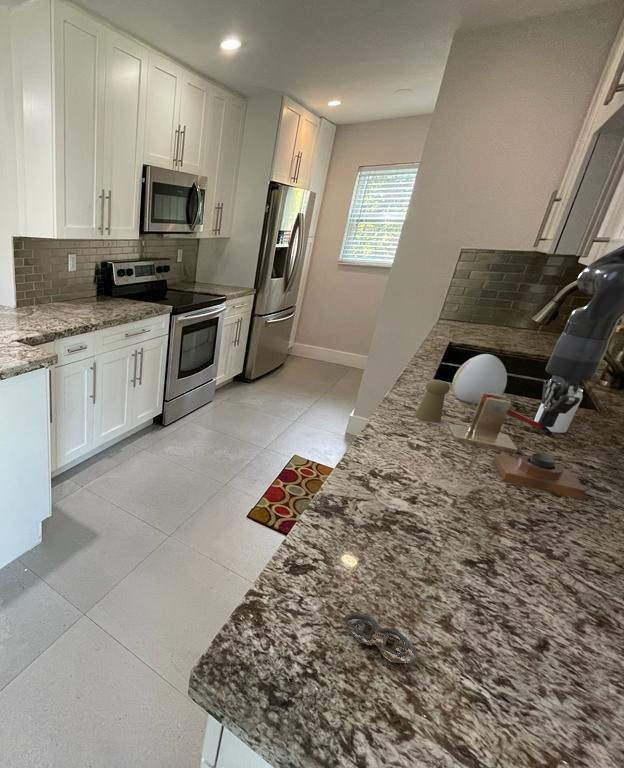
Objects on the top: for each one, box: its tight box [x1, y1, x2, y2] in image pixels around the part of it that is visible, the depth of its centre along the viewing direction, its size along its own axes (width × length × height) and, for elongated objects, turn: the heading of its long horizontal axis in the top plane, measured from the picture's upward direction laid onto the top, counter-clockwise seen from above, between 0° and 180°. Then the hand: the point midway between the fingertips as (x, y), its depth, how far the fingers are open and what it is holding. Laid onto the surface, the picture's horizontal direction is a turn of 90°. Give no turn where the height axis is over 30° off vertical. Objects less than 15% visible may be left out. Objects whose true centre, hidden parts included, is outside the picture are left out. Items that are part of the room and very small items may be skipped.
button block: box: [492, 453, 587, 501], centre depth 87 cm, size 12×9×4 cm
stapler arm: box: [483, 396, 553, 437], centre depth 99 cm, size 13×6×2 cm, turn 60°
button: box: [529, 453, 557, 469], centre depth 86 cm, size 4×4×2 cm
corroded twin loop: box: [344, 612, 419, 664], centre depth 52 cm, size 5×8×1 cm, turn 48°
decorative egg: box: [452, 353, 508, 406], centre depth 126 cm, size 12×12×15 cm
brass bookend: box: [447, 392, 519, 454], centre depth 102 cm, size 12×9×12 cm
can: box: [533, 387, 584, 434], centre depth 109 cm, size 6×6×12 cm
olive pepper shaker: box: [414, 379, 451, 423], centre depth 114 cm, size 6×6×11 cm
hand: (545, 425), depth 97 cm, fingers closed
